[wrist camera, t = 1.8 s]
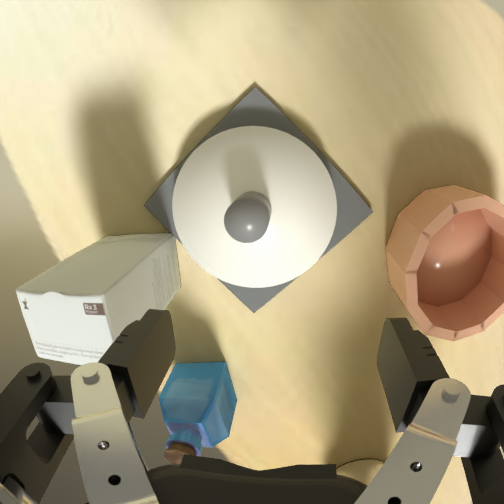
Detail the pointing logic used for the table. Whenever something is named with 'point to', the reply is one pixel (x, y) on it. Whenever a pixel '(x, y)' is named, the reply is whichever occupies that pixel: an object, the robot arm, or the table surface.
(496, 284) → the bowl
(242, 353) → the table surface
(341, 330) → the table surface
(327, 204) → the lid
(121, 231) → the table surface
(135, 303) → the skincare box
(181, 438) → the perfume bottle
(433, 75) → the table surface
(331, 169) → the mat
